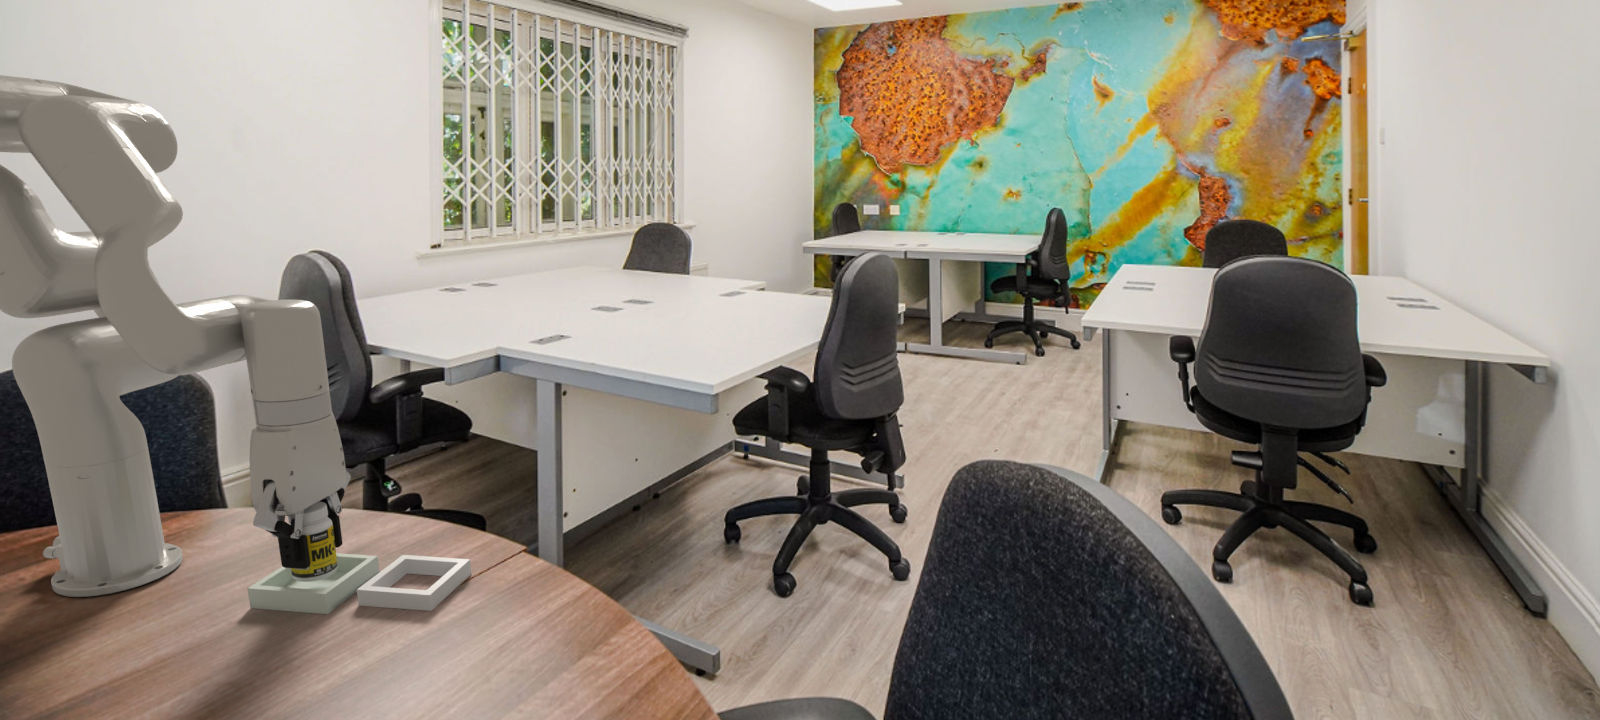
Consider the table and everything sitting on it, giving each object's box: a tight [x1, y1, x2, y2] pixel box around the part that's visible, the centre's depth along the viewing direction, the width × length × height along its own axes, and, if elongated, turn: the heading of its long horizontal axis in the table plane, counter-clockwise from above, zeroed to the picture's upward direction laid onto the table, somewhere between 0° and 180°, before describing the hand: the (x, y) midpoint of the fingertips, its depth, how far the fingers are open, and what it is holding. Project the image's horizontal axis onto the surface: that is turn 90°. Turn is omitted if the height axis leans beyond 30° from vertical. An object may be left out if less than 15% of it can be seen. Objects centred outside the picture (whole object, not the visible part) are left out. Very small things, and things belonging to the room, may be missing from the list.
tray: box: [247, 552, 381, 615], centre depth 98 cm, size 10×10×2 cm
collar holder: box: [356, 554, 472, 612], centre depth 99 cm, size 9×9×2 cm
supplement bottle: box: [287, 502, 338, 582], centre depth 97 cm, size 5×5×8 cm
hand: (313, 554), depth 97 cm, fingers closed on supplement bottle, 4 cm apart
